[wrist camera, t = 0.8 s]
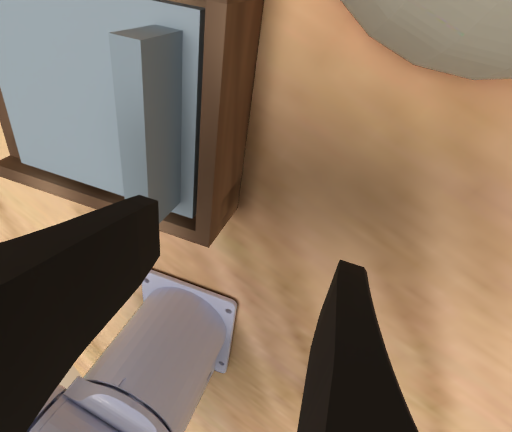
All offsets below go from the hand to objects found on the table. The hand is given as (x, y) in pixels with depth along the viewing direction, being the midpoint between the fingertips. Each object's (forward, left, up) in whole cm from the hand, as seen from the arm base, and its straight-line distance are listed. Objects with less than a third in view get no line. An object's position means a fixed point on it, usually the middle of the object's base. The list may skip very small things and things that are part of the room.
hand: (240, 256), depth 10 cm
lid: (0, +10, -7) cm, 13 cm away
